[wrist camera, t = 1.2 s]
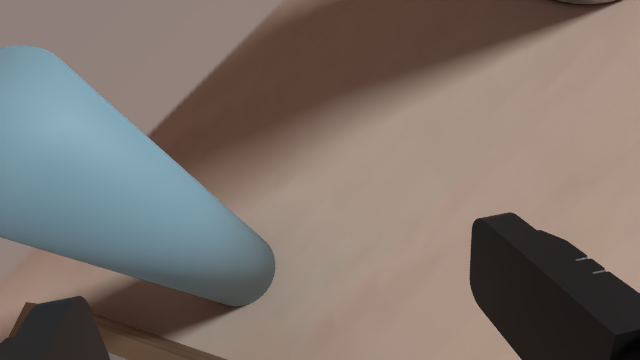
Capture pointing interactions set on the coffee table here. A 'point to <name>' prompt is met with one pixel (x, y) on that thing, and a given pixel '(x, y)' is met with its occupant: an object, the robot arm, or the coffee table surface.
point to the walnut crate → (133, 341)
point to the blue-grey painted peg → (112, 190)
